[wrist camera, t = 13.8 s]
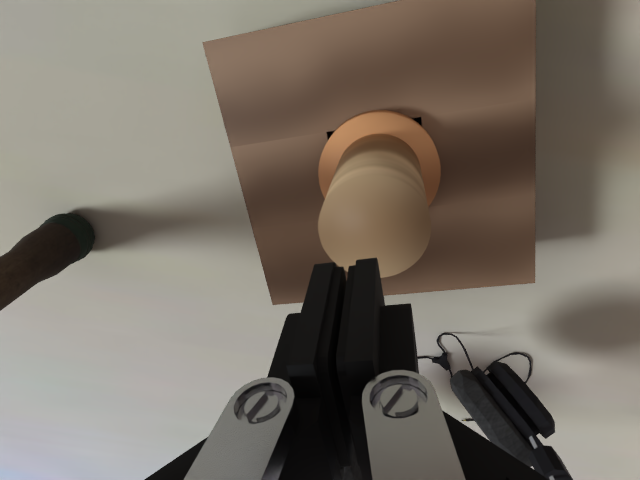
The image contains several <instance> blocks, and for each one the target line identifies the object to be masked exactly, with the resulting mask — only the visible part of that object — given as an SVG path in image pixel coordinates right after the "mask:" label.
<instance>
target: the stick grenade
mask: <svg viewBox="0 0 640 480" xmlns="http://www.w3.org/2000/svg"><path fill="white" fill-rule="evenodd" d="M94 239H95V236H94V232H93V229H92V228H91V226H90V224H89V223H88V222H87V221H86V220H85V219H84V218H82V217H80V216H78V215H75V214H58V215H55V216H53V217H51V218H49V219H48V220H46V221H45V223H43V224H42V225H41V226H40V227H39V228H38V229H36V230H34V231H33V232H31V233H29V234H28V235H26V236H25V237H23V238H22V239H21V240H20V241H19V242H18V243H17V244H16V245H15V246H14V247H13V248H12V249H11V250H10V251H9V252H8V253H6V254H4V255H3V256H1V257H0V311H1V310H2V309H3V308H5V307H6V306H7V305H9V304H10V303H11V302H13V301H14V300H15V299H17V298H18V297H19V296H21V295H22V294H23V293H25V292H26V291H27V290H29V289H30V288H31V287H33V286H34V285H35V284H37V283H38V282H41V281H43V280H45V279H48V278H50V277H52V276H54V275H57V274H58V273H59V272H61V271H62V270H63V269H65V268H66V267H67V266H69V265H70V264H73V263H74V262H76V261H79V260H81V259H82V258H84V257H85V256H86V255H87V254H88V253H89V252H90V251H91V249H92V246H93V244H94Z"/></svg>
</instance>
